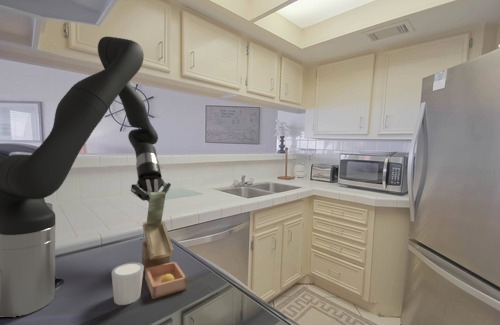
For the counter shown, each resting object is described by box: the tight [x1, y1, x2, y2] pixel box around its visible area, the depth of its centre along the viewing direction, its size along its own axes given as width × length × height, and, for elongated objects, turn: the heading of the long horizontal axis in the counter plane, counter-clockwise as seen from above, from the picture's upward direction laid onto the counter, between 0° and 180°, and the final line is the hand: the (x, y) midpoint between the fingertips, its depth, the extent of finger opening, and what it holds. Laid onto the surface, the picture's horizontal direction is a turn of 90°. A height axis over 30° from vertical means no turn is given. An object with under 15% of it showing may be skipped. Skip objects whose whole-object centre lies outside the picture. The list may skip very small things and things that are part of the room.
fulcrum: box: [141, 240, 170, 272], centre depth 71 cm, size 7×4×8 cm, turn 124°
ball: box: [161, 274, 174, 283], centre depth 59 cm, size 3×3×3 cm
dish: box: [144, 261, 188, 300], centre depth 61 cm, size 8×10×3 cm
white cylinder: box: [111, 262, 144, 306], centre depth 55 cm, size 7×7×7 cm
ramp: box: [142, 191, 174, 260], centre depth 68 cm, size 6×14×13 cm, turn 34°
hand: (155, 209), depth 73 cm, fingers closed
